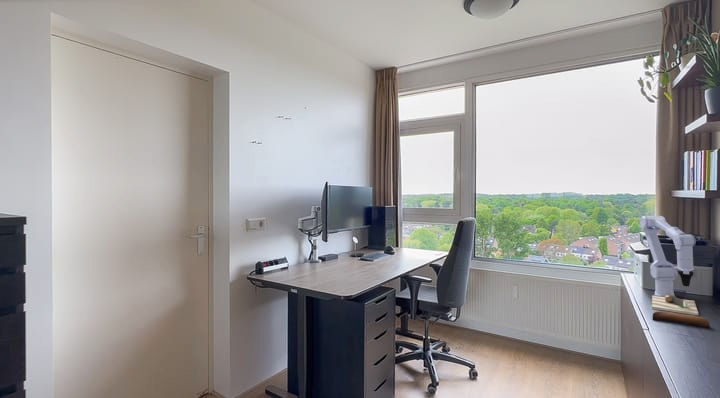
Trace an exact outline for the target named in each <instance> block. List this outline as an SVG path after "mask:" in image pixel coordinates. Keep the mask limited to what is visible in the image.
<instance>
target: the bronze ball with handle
mask: <svg viewBox="0 0 720 398" xmlns="http://www.w3.org/2000/svg"><path fill="white" fill-rule="evenodd" d="M682 299H683V298H682ZM682 299H681V298H678V297H677V296H676V295H674V296H673V295H665V301H666V302H671V303H675V304H678V305H681V306H683V307H688V301H685V300H686V299H683V300H682Z"/></svg>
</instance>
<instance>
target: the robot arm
mask: <svg viewBox="0 0 720 398" xmlns="http://www.w3.org/2000/svg"><path fill="white" fill-rule="evenodd" d="M639 226H640V227H641V228H640V229H641V231H642V232H643V233H644V235H645V238H646V241H647V244H648V247H649V250H650V253H651V257H652V259H653V262H652V263H651V264H650V266H649V267H650V268H649V269H650V276H652V278H653V279H655V280H654V281H655V282H654V284H655V285H654V286H655V291H654V296H658V297H665V295H673V296H675V293H674V281H675V280H676V278H677V277H678V274H679V277H680V279H681V283H682V286H684V287H690V284H691V279H692V277H693V276H694V270H695V268H694V252H693V247H694V246H695V245H696V242H697V239H696V238H695V236H694V235H693V234H687V233H685V232H684V231H682V230H681V229H679V227H677V226H672V225H671V224H669V223H668V222H667V219H666V218H665V217H664V216H662V215H656V216H655V215H652V216H646V215H645V216H644V215H643V216H641V217H640V219H639ZM661 231H664V232H665V235H666V236H667V237H669V238H670V239H671V240H672V241H673V244H674V248H675V250H676V260H677V261H676V262H677V263H676V264H677V266H674V264H673V263H672V262H670V261H668V260H667V259H666V258H667V257H666V256H665V253H664V250H663V248H662V245H661V242H660V238H659V236H658V233H661Z"/></svg>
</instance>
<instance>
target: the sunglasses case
mask: <svg viewBox="0 0 720 398" xmlns="http://www.w3.org/2000/svg"><path fill="white" fill-rule="evenodd" d="M653 320H655V321H663V322H664V321H665V322H666V321H667V322H674V323H678V324H679V323H680V324H687V325H692V326H697V327H698V326H699V327H705V328H708V329H709V330H710V329H711V325H710V321H708V319H707V318H704V317H701V316H699V315H691V314H682V313H675V312H670V311H655V312H653V313H652V321H653Z"/></svg>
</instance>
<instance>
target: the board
mask: <svg viewBox="0 0 720 398" xmlns="http://www.w3.org/2000/svg"><path fill="white" fill-rule="evenodd" d="M651 297H652V299H651V309H652V310H657V311H662V312H669V313H676V314H683V315H693V316H699V311H698V309H697V305H696V303H695V302H696V301H695V300H691V299H690V300H689V299H683V298H682V300H685V301H688V307H683V306H681V305H678V304H675V303H671V302H666V301H665V297H662V296H655V295H651Z"/></svg>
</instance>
